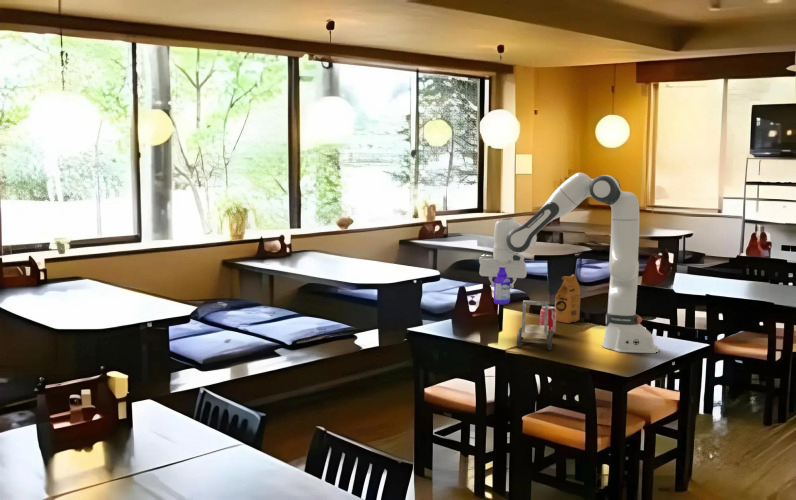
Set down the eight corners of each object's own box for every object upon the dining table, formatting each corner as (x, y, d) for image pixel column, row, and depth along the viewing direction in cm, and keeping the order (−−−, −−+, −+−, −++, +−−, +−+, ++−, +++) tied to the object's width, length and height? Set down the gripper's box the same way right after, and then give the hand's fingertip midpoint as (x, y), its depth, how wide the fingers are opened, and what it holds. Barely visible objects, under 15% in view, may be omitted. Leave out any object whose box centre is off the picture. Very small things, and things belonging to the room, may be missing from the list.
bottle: (500, 305, 338) (502, 265, 336) (491, 303, 342) (492, 263, 340) (512, 303, 342) (513, 264, 340) (502, 301, 347) (504, 262, 345)
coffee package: (550, 320, 376) (552, 275, 374) (564, 317, 385) (566, 273, 383) (568, 324, 370) (570, 277, 367) (582, 320, 379) (584, 275, 376)
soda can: (554, 332, 350) (555, 305, 349) (556, 336, 343) (557, 308, 342) (538, 331, 351) (539, 305, 349) (539, 335, 344) (541, 308, 342)
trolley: (552, 342, 330) (554, 296, 328) (550, 351, 314) (552, 302, 312) (519, 340, 333) (521, 294, 331) (516, 348, 317) (518, 300, 315)
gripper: (478, 255, 339) (477, 287, 341) (526, 257, 334) (525, 289, 336) (480, 253, 345) (479, 284, 347) (527, 255, 341) (526, 287, 342)
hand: (502, 287), depth 341 cm, fingers closed on bottle, 7 cm apart
